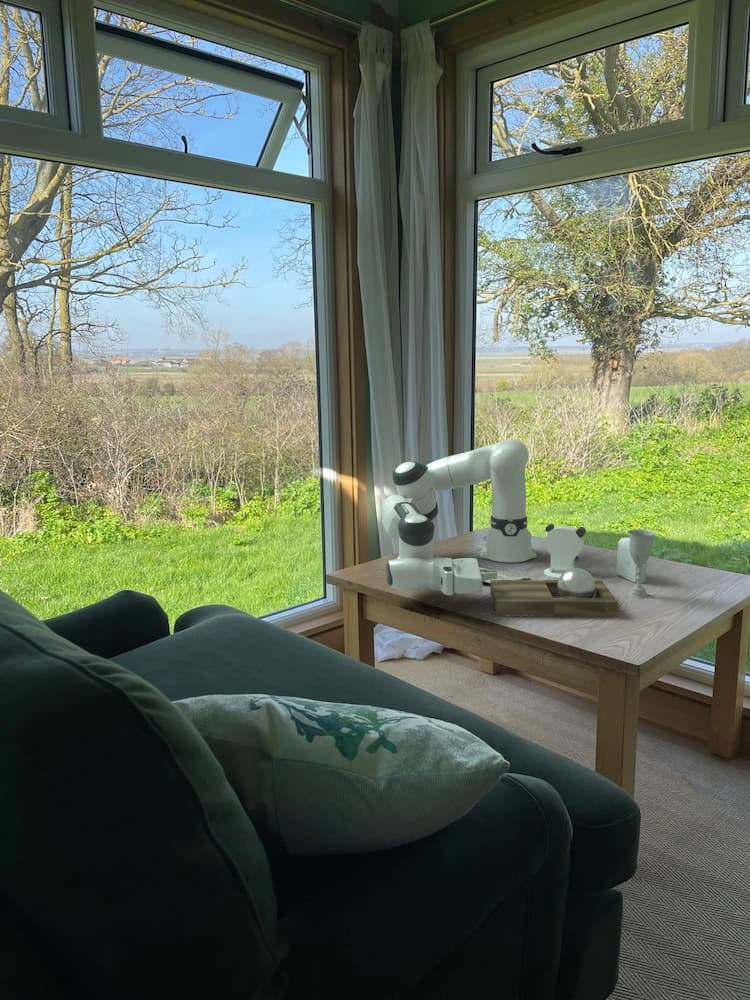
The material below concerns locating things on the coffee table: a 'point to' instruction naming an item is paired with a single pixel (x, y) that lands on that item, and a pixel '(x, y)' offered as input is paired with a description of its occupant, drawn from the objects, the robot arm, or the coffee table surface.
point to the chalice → (640, 556)
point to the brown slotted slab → (548, 599)
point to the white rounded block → (628, 562)
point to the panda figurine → (563, 548)
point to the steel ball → (576, 584)
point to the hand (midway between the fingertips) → (497, 574)
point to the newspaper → (500, 574)
